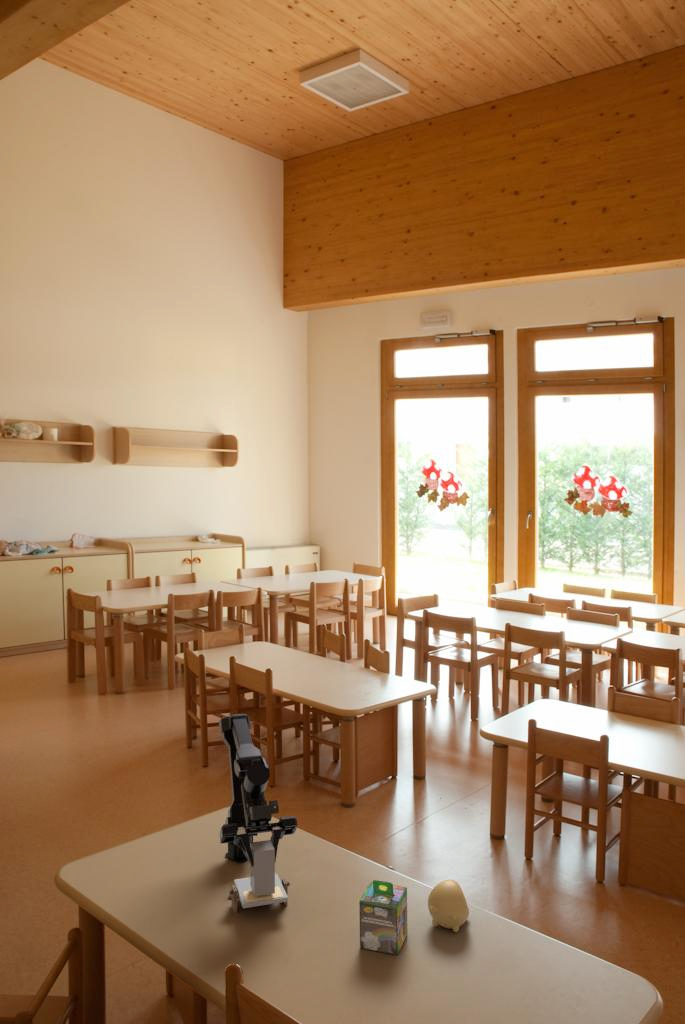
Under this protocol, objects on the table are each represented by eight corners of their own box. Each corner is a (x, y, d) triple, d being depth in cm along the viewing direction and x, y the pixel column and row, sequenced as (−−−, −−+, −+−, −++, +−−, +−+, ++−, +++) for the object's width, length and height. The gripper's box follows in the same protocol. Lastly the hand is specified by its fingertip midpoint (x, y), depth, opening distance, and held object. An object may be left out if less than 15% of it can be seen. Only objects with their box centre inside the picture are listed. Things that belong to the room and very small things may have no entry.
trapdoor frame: (225, 896, 211) (225, 875, 211) (283, 888, 216) (283, 867, 215) (230, 913, 204) (230, 891, 203) (290, 904, 208) (290, 882, 208)
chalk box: (408, 934, 195) (408, 873, 194) (397, 956, 187) (398, 892, 186) (370, 926, 198) (370, 866, 197) (358, 948, 190) (358, 885, 189)
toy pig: (468, 943, 198) (479, 899, 205) (459, 924, 190) (471, 878, 197) (429, 931, 202) (441, 888, 209) (418, 912, 194) (431, 868, 201)
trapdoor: (234, 895, 210) (234, 879, 210) (277, 888, 214) (277, 872, 213) (242, 920, 199) (242, 903, 199) (287, 913, 202) (287, 896, 202)
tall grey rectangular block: (250, 885, 205) (250, 842, 205) (270, 882, 207) (270, 839, 206) (254, 896, 201) (254, 852, 200) (274, 893, 202) (274, 849, 201)
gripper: (221, 793, 203) (228, 858, 193) (296, 784, 208) (307, 847, 199) (216, 810, 211) (223, 874, 201) (288, 802, 217) (298, 863, 207)
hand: (263, 864), depth 202 cm, fingers closed on tall grey rectangular block, 5 cm apart
